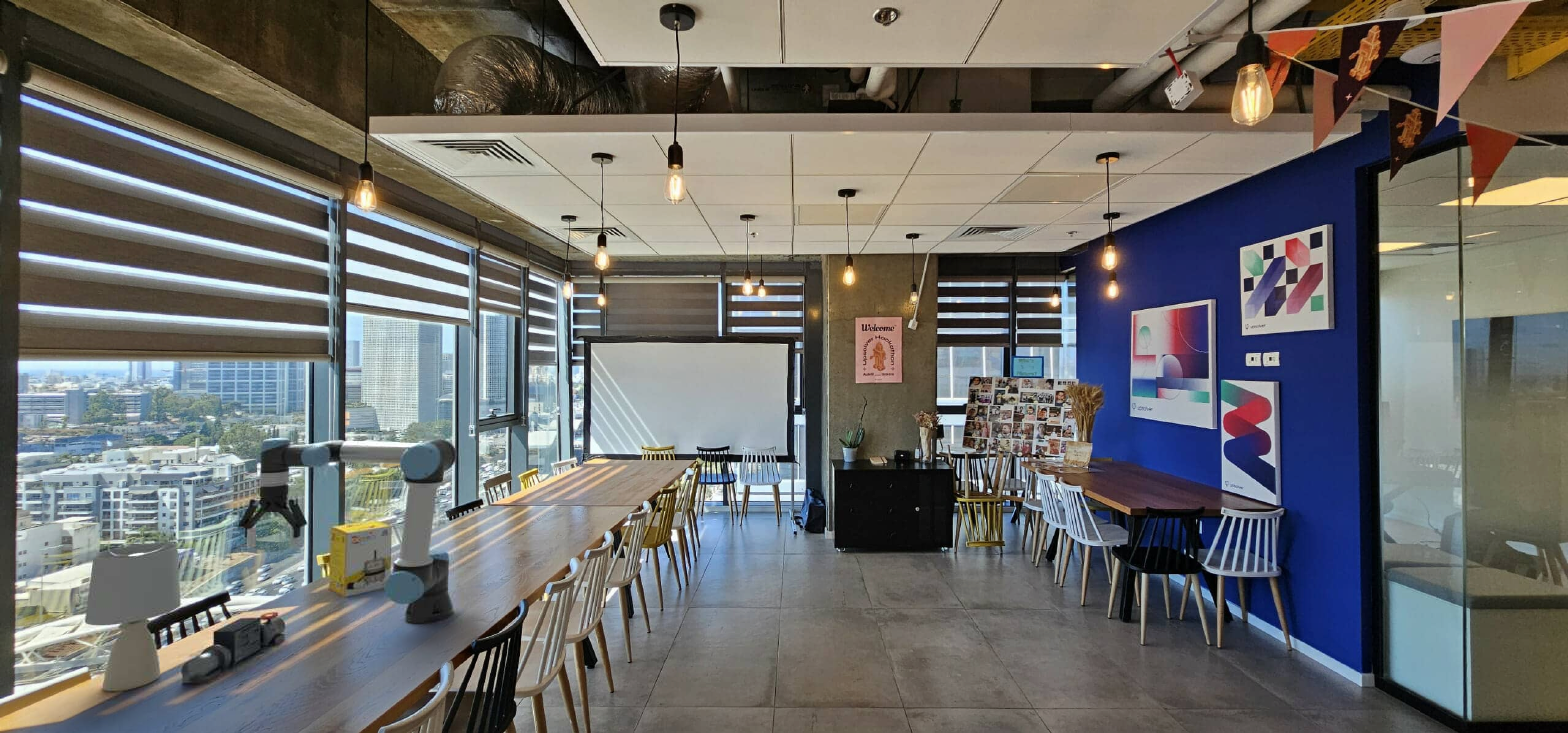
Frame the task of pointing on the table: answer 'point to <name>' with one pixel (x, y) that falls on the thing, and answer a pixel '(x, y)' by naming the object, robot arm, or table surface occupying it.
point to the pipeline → (220, 656)
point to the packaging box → (359, 557)
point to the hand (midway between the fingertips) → (272, 547)
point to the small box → (240, 638)
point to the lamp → (133, 607)
